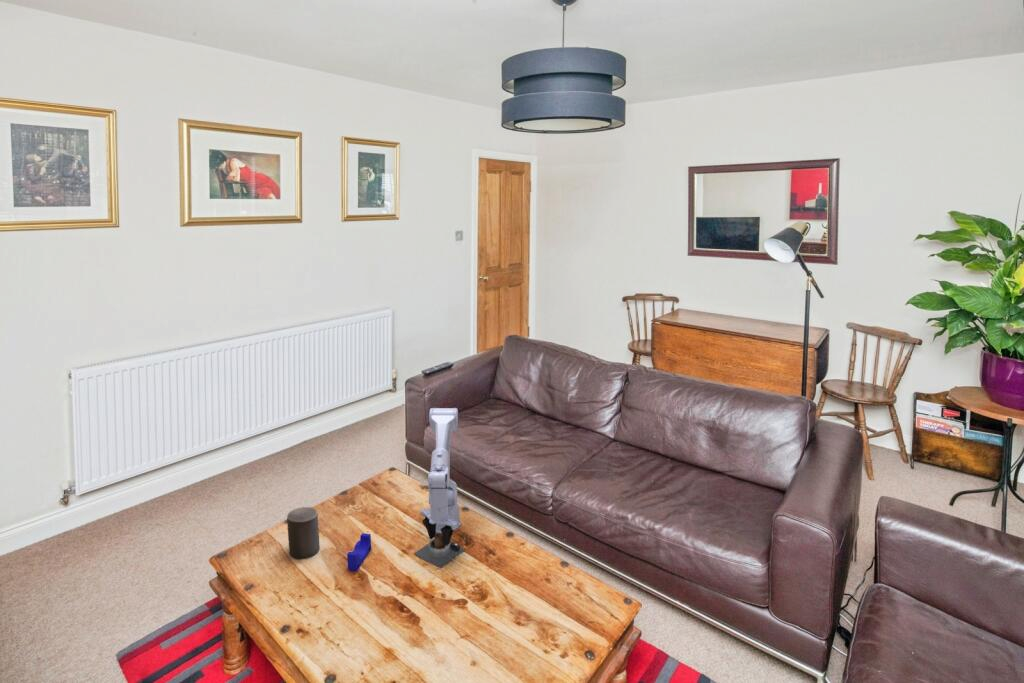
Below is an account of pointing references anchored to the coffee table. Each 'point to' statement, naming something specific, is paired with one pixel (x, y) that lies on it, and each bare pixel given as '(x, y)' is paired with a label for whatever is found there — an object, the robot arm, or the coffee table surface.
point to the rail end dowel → (438, 540)
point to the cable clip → (359, 552)
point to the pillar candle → (303, 532)
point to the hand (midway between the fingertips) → (439, 541)
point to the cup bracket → (439, 553)
